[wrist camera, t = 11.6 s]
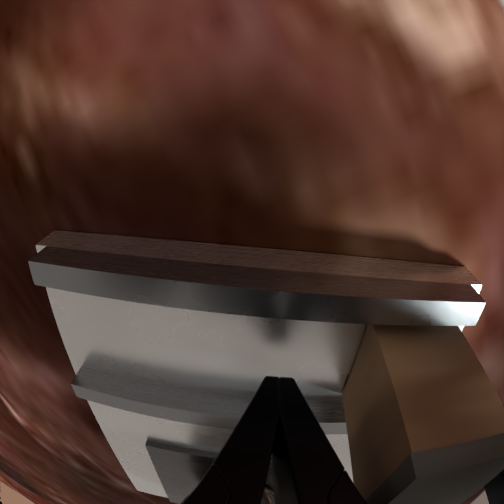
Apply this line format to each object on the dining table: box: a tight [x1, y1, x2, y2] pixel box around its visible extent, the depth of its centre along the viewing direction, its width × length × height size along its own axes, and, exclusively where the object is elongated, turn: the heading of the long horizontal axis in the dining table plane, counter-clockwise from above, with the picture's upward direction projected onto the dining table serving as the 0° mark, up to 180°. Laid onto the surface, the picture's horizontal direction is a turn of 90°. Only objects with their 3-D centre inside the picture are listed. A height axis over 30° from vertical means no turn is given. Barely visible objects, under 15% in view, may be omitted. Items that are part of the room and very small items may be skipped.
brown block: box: [342, 324, 504, 504], centre depth 7 cm, size 3×4×5 cm
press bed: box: [28, 230, 486, 504], centre depth 13 cm, size 14×19×2 cm
